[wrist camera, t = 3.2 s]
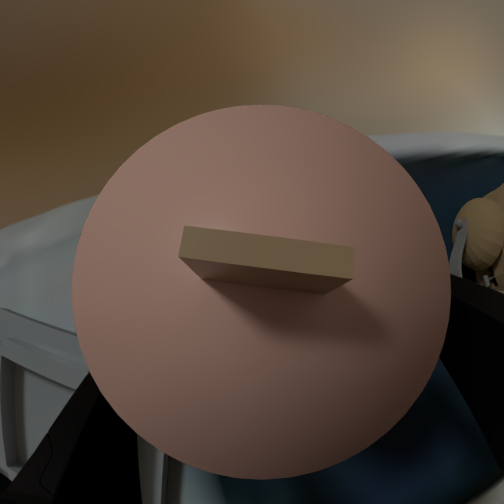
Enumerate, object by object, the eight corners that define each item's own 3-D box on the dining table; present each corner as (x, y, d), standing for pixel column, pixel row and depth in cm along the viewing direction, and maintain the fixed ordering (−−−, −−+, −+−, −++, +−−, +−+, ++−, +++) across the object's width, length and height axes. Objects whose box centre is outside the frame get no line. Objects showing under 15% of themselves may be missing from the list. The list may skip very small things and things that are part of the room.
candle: (314, 273, 17) (467, 99, 3) (302, 373, 16) (462, 503, 2) (215, 261, 17) (105, 55, 4) (200, 359, 16) (6, 441, 2)
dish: (179, 359, 16) (165, 364, 13) (164, 540, 12) (153, 561, 10) (7, 308, 17) (-17, 304, 14) (8, 468, 13) (-11, 476, 10)
